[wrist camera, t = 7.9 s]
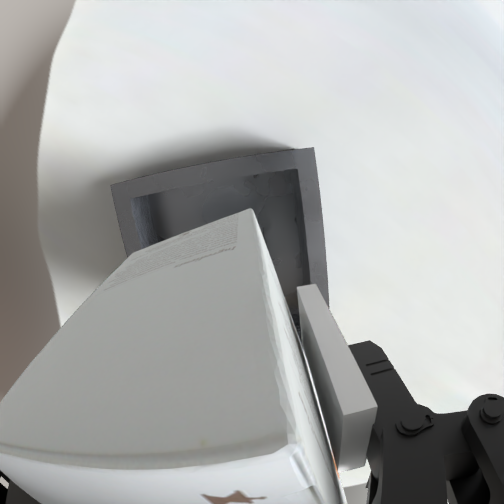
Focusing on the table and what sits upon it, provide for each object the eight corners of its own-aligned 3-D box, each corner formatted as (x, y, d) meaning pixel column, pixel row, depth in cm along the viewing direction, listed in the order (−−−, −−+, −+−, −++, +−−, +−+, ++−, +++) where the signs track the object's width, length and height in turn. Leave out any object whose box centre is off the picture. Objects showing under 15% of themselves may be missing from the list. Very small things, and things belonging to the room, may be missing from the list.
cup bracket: (299, 149, 18) (344, 142, 10) (319, 338, 22) (350, 423, 14) (135, 179, 19) (60, 198, 10) (182, 357, 23) (160, 443, 14)
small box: (132, 250, 12) (-40, 434, 2) (254, 204, 12) (300, 439, 2) (204, 386, 15) (180, 576, 4) (307, 358, 14) (361, 559, 4)
